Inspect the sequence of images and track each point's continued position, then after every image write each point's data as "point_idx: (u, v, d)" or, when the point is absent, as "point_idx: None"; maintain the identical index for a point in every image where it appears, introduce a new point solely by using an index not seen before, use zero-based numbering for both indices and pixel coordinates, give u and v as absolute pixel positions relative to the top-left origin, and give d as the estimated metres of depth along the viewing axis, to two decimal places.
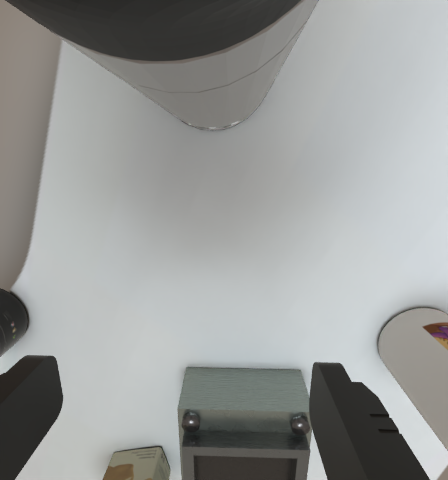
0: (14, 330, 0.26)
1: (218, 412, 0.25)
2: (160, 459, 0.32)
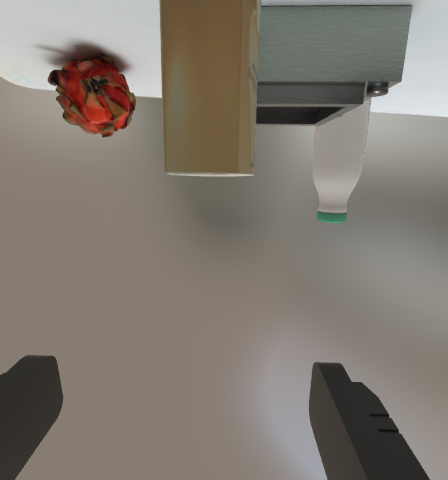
0: None
1: None
2: None
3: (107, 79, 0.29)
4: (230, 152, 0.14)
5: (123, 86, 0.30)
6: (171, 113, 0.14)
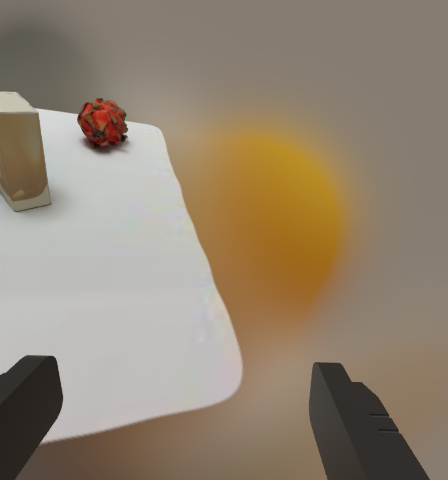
0: None
1: None
2: None
3: (91, 136, 0.50)
4: None
5: (83, 131, 0.50)
6: (36, 140, 0.31)
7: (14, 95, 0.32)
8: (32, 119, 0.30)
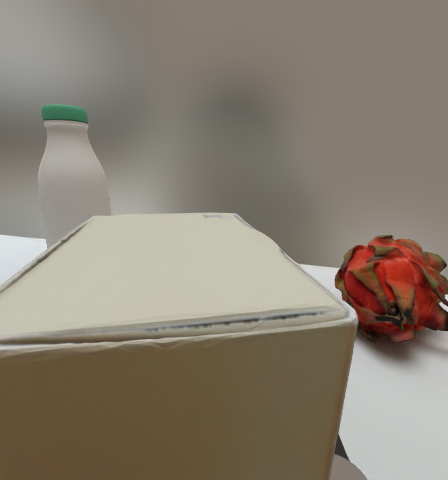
0: None
1: None
2: None
3: (374, 319, 0.20)
4: None
5: (351, 304, 0.22)
6: None
7: (224, 218, 0.07)
8: (300, 382, 0.03)
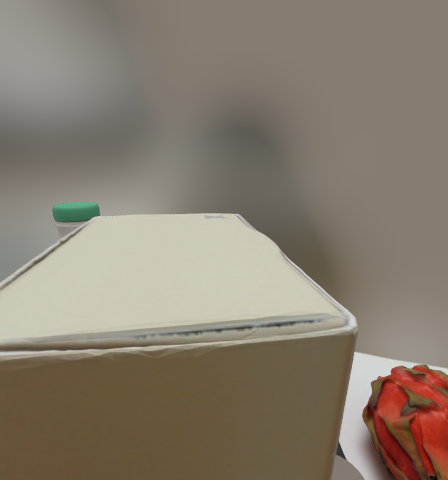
0: None
1: None
2: None
3: None
4: None
5: (383, 459, 0.21)
6: None
7: (225, 219, 0.07)
8: (296, 393, 0.03)
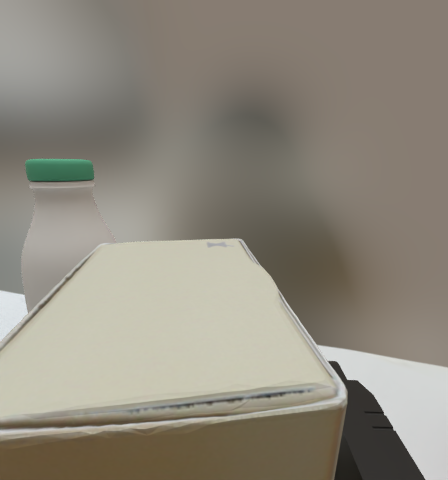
0: None
1: None
2: None
3: None
4: None
5: None
6: None
7: (227, 248, 0.07)
8: (286, 462, 0.03)
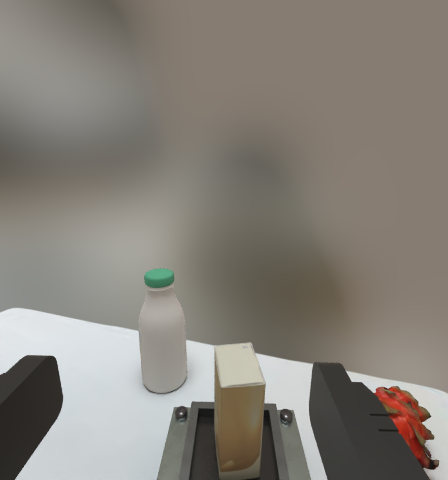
0: None
1: (161, 473, 0.29)
2: None
3: None
4: (225, 396, 0.25)
5: None
6: (258, 410, 0.26)
7: (248, 349, 0.30)
8: (258, 390, 0.26)
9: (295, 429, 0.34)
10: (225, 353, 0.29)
